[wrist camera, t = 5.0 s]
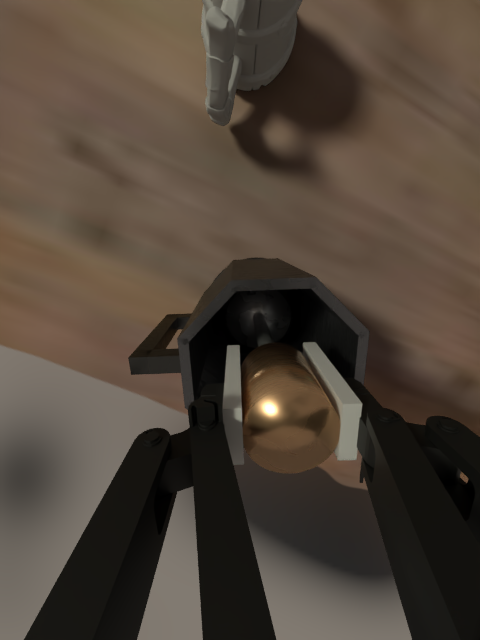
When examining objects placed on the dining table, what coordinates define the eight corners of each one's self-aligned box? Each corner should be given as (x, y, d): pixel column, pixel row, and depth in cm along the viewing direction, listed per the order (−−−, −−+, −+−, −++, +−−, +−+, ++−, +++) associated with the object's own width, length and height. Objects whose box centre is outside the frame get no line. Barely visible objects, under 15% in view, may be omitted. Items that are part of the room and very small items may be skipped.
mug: (306, 9, 23) (376, -219, 12) (256, 157, 26) (271, 93, 15) (221, -34, 22) (205, -326, 11) (179, 124, 25) (133, 30, 14)
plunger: (289, 283, 27) (379, 358, 10) (288, 343, 29) (362, 492, 12) (224, 285, 27) (206, 365, 10) (228, 346, 29) (217, 497, 12)
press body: (307, 255, 29) (377, 272, 15) (303, 352, 32) (358, 444, 18) (169, 260, 29) (103, 283, 14) (180, 357, 32) (134, 453, 18)
